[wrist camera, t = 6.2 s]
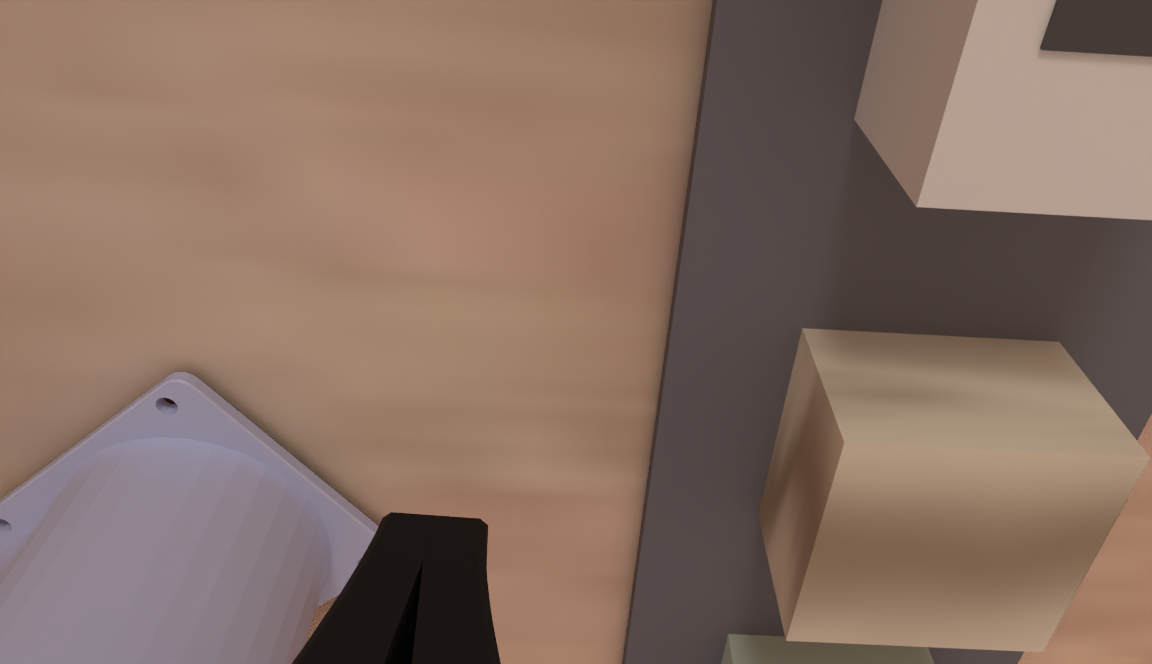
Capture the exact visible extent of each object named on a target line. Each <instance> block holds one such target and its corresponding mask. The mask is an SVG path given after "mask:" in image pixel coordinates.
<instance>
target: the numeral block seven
mask: <svg viewBox="0 0 1152 664" xmlns="http://www.w3.org/2000/svg"><path fill="white" fill-rule="evenodd" d="M721 664H934V661H933V659H932V656H931V653H930V651H929V648H928V647H913V646H891V645H869V644H847V643H824V642H802V641H786V639H785V636H763V635H741V634H728V637H727V641H726V646H725V650H724V654H723V658H722V662H721Z"/></svg>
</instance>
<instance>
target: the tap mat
mask: <svg viewBox="0 0 1152 664" xmlns="http://www.w3.org/2000/svg"><path fill="white" fill-rule="evenodd" d="M881 5H882V0H713V6H712V14H711V21H710V28H709V35H708V43H707V50H706V57H705V65H704V72H703V79H702V87H701V94H700V101H699V108H698V116H697V123H696V130H695V138H694V145H693V152H692V160H691V167H690V174H689V181H688V189H687V196H686V203H685V211H684V218H683V225H682V233H681V240H680V247H679V255H678V262H677V269H676V276H675V284H674V291H673V298H672V306H671V313H670V320H669V328H668V335H667V342H666V349H665V357H664V364H663V371H662V379H661V386H660V393H659V401H658V408H657V415H656V422H655V430H654V437H653V444H652V452H651V459H650V466H649V474H648V481H647V488H646V496H645V503H644V510H643V517H642V525H641V532H640V539H639V547H638V554H637V561H636V569H635V576H634V583H633V590H632V598H631V605H630V612H629V620H628V627H627V634H626V642H625V649H624V656H623V663H622V664H721V662H722V658H723V654H724V650H725V646H726V641H727V637H728V634H741V635H763V636H785V634H784V630H783V625H782V621H781V616H780V612H779V607H778V603H777V598H776V594H775V589H774V585H773V580H772V576H771V571H770V567H769V562H768V558H767V553H766V549H765V544H764V539H763V535H762V530H761V526H760V521H759V517H758V512H759V508H760V504H761V500H762V496H763V491H764V487H765V483H766V479H767V475H768V470H769V466H770V462H771V458H772V454H773V449H774V445H775V441H776V437H777V433H778V428H779V424H780V420H781V416H782V412H783V407H784V403H785V399H786V395H787V391H788V386H789V382H790V378H791V374H792V370H793V365H794V361H795V357H796V353H797V349H798V344H799V340H800V336H801V332H802V328H807V329H826V330H845V331H864V332H883V333H902V334H921V335H940V336H959V337H978V338H996V339H1015V340H1034V341H1053V342H1060V344H1061V345H1062V346H1063V347H1064V349H1065V350H1066V351H1067V352H1068V354H1069V355H1070V356H1071V357H1072V359H1073V360H1074V361H1075V363H1076V364H1077V365H1078V366H1079V368H1080V369H1081V370H1082V371H1083V373H1084V374H1085V375H1086V377H1087V378H1088V379H1089V380H1090V382H1091V383H1092V384H1093V385H1094V387H1095V388H1096V389H1097V390H1098V392H1099V393H1100V394H1101V396H1102V397H1103V398H1104V399H1105V401H1106V402H1107V403H1108V404H1109V406H1110V407H1111V408H1112V410H1113V411H1114V412H1115V413H1116V415H1117V416H1118V417H1119V418H1120V420H1121V421H1122V422H1123V423H1124V425H1125V426H1126V427H1127V429H1128V430H1129V431H1130V432H1131V434H1132V435H1133V436H1134V437H1135V439H1136V440H1138V438H1139V436H1140V434H1141V432H1142V430H1143V428H1144V427H1145V425H1146V423H1147V421H1148V419H1149V417H1150V415H1151V413H1152V220H1138V219H1120V218H1102V217H1084V216H1066V215H1049V214H1031V213H1013V212H995V211H977V210H960V209H942V208H924V207H916V206H915V204H914V203H913V202H912V200H911V199H910V197H909V196H908V195H907V193H906V192H905V190H904V189H903V187H902V186H901V185H900V183H899V182H898V180H897V179H896V178H895V176H894V175H893V173H892V172H891V171H890V169H889V168H888V166H887V165H886V164H885V162H884V161H883V159H882V158H881V156H880V155H879V154H878V152H877V151H876V149H875V148H874V147H873V145H872V144H871V142H870V141H869V140H868V138H867V137H866V135H865V134H864V132H863V131H862V130H861V128H860V127H859V125H858V124H857V123H856V121H855V120H854V117H855V113H856V109H857V105H858V101H859V97H860V92H861V88H862V84H863V80H864V76H865V71H866V67H867V63H868V59H869V55H870V51H871V46H872V42H873V38H874V34H875V30H876V25H877V21H878V17H879V13H880V9H881ZM928 648H929V651H930V653H931V656H932V659H933V661H934V664H1018V662H1019V660H1020V658H1021V656H1022V654H1023V652H1024V651H1002V650H980V649H958V648H936V647H928Z"/></svg>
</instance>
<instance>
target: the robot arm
mask: <svg viewBox="0 0 1152 664" xmlns="http://www.w3.org/2000/svg"><path fill="white" fill-rule="evenodd" d="M164 398H169V399H171V400H173V401H174V402H175V403H176V404H177V405H175V404H170V403H168V402H166V401H165V399H164ZM487 539H488V525H487V524H486V523H485V522H483V521H482V520H481V519H476V518H462V517H448V516H434V515H420V514H406V513H392V512H391V513H389V514H388V515H386V516H385V517H383V519H382V521H381V523H380V525H379V526H378V525H376V524H375V523H374V522H373V521H371V520H370V519H369V518H368V517H367V516H365V515H364V514H363V513H362V512H361V511H359V510H358V509H357V508H356V507H354V506H353V505H352V504H351V503H350V502H348V501H347V500H346V499H345V498H343V497H342V496H341V495H340V494H339V493H337V492H336V491H335V490H334V489H333V488H331V487H330V486H329V485H328V484H326V483H325V482H324V481H323V480H322V479H320V478H319V477H318V476H317V475H316V474H314V473H313V472H312V471H311V470H309V469H308V468H307V467H306V466H305V465H303V464H302V463H301V462H300V461H298V460H297V459H296V458H295V457H294V456H292V455H291V454H290V453H289V452H288V451H286V450H285V449H284V448H283V447H281V446H280V445H279V444H278V443H277V442H275V441H274V440H273V439H272V438H271V437H269V436H268V435H267V434H266V433H264V432H263V431H262V430H261V429H260V428H258V427H257V426H256V425H255V424H253V423H252V422H251V421H250V420H249V419H247V418H246V417H245V416H244V415H243V414H241V413H240V412H239V411H238V410H236V409H235V408H234V407H233V406H232V405H230V404H229V403H228V402H227V401H225V400H224V399H223V398H222V397H221V396H219V395H218V394H217V393H216V392H215V391H213V390H212V389H211V388H210V387H208V386H207V385H206V384H205V383H204V382H202V381H201V380H200V379H199V378H197V377H195V376H194V375H192V374H189V373H186V372H175V373H172V374H170V375H168V376H167V377H166V378H164V379H163V380H161V381H160V382H159V383H157V384H156V385H155V386H153V387H152V388H151V389H149V390H148V391H147V392H145V393H144V394H143V395H141V396H140V397H139V398H137V399H136V400H134V401H133V402H132V403H130V404H129V405H128V406H126V407H125V408H124V409H122V410H121V411H120V412H118V413H117V414H116V415H114V416H113V417H112V418H110V419H109V420H107V421H106V422H105V423H103V424H102V425H101V426H99V427H98V428H97V429H95V430H94V431H93V432H91V433H90V434H89V435H87V436H86V437H84V438H83V439H82V440H80V441H79V442H78V443H76V444H75V445H74V446H72V447H71V448H70V449H68V450H67V451H66V452H64V453H63V454H62V455H60V456H59V457H57V458H56V459H55V460H53V461H52V462H51V463H49V464H48V465H47V466H45V467H44V468H43V469H41V470H40V471H39V472H37V473H36V474H35V475H33V476H32V477H30V478H29V479H28V480H26V481H25V482H24V483H22V484H21V485H20V486H18V487H17V488H16V489H14V490H13V491H12V492H10V493H9V494H8V495H6V496H5V497H3V498H2V499H1V500H0V664H501V663H500V658H499V653H498V648H497V643H496V638H495V632H494V627H493V622H492V615H491V609H490V601H489V592H488V583H487V569H486V566H487ZM338 595H339V596H338ZM336 596H338V598H337V599H336V600H335V602H334V603H333V605H332V606H331V608H330V609H329V611H328V612H327V614H326V615H325V617H324V618H323V620H322V621H321V623H320V624H319V626H318V627H317V629H316V630H315V631H314V633H313V634H312V636H311V637H310V639H309V640H308V642H307V643H306V639H307V636H308V633H309V630H310V627H311V623H312V620H313V617H314V614H315V611H316V608H317V607H318V606H320V605H322V604H324V603H326V602H327V601H329V600H331V599H333V598H335V597H336ZM305 643H306V644H305Z"/></svg>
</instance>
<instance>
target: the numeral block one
mask: <svg viewBox="0 0 1152 664" xmlns="http://www.w3.org/2000/svg"><path fill="white" fill-rule="evenodd" d="M854 120H855V121H856V123H857V124H858V125H859V127H860V128H861V130H862V131H863V132H864V134H865V135H866V137H867V138H868V140H869V141H870V142H871V144H872V145H873V147H874V148H875V149H876V151H877V152H878V154H879V155H880V156H881V158H882V159H883V161H884V162H885V164H886V165H887V166H888V168H889V169H890V171H891V172H892V173H893V175H894V176H895V178H896V179H897V180H898V182H899V183H900V185H901V186H902V187H903V189H904V190H905V192H906V193H907V195H908V196H909V197H910V199H911V200H912V202H913V203H914V204H915V206H916V207H924V208H942V209H960V210H977V211H995V212H1013V213H1031V214H1049V215H1066V216H1084V217H1102V218H1120V219H1138V220H1152V0H882V5H881V9H880V13H879V17H878V21H877V25H876V30H875V34H874V38H873V42H872V46H871V51H870V55H869V59H868V63H867V67H866V71H865V76H864V80H863V84H862V88H861V92H860V97H859V101H858V105H857V109H856V113H855V117H854Z"/></svg>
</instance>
